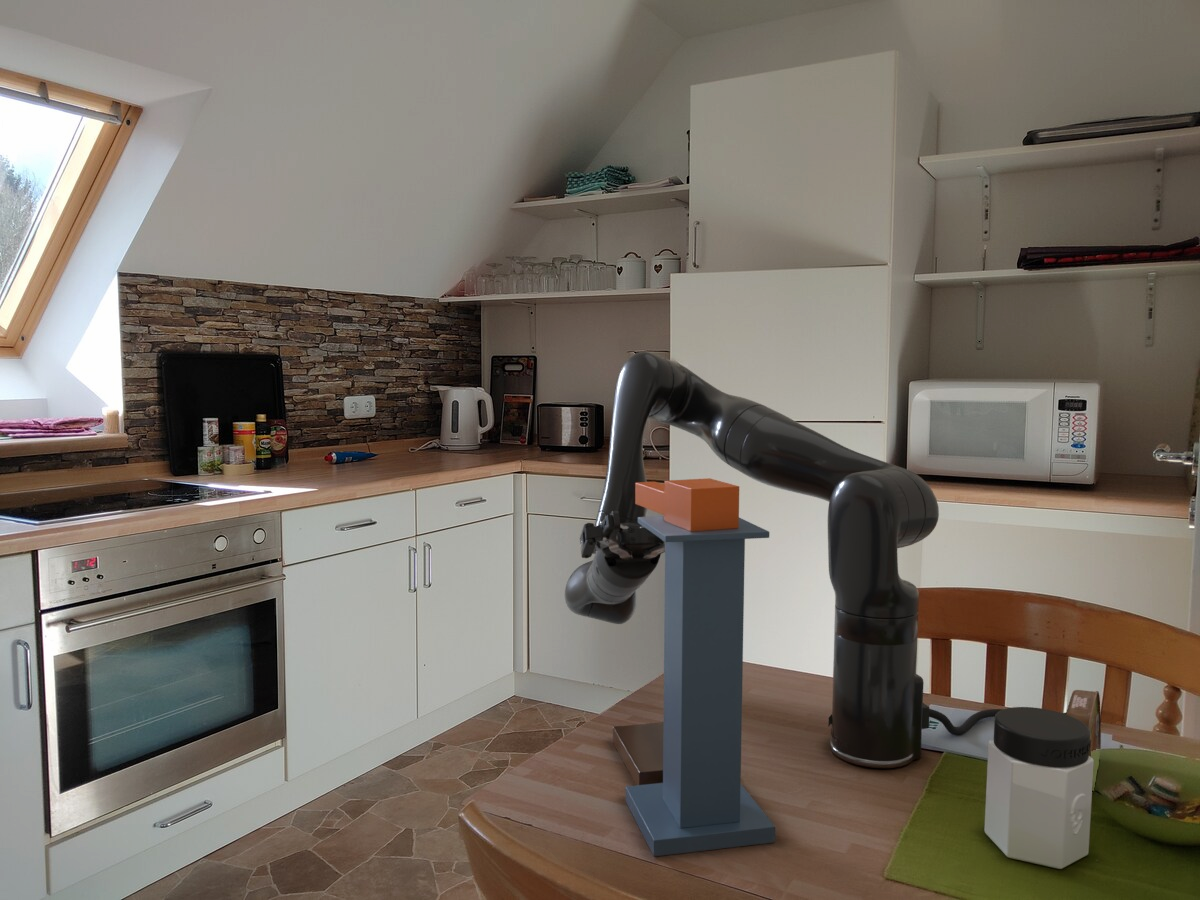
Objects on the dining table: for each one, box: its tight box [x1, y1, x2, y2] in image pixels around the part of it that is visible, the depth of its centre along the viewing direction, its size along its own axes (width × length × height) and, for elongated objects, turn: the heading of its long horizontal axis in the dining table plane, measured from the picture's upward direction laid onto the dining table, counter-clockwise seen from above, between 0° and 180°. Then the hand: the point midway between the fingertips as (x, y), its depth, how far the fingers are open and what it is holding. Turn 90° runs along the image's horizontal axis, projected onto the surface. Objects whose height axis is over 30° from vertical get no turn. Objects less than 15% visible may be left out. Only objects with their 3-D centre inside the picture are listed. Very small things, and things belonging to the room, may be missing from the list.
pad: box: [612, 721, 664, 786], centre depth 105 cm, size 9×12×2 cm
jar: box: [983, 706, 1094, 870], centre depth 87 cm, size 9×8×12 cm
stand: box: [625, 515, 776, 857], centre depth 90 cm, size 12×11×30 cm
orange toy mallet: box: [635, 477, 740, 532], centre depth 93 cm, size 5×16×4 cm, turn 20°
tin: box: [1065, 689, 1102, 757], centre depth 102 cm, size 15×3×8 cm, turn 148°
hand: (653, 517), depth 106 cm, fingers open, 8 cm apart
